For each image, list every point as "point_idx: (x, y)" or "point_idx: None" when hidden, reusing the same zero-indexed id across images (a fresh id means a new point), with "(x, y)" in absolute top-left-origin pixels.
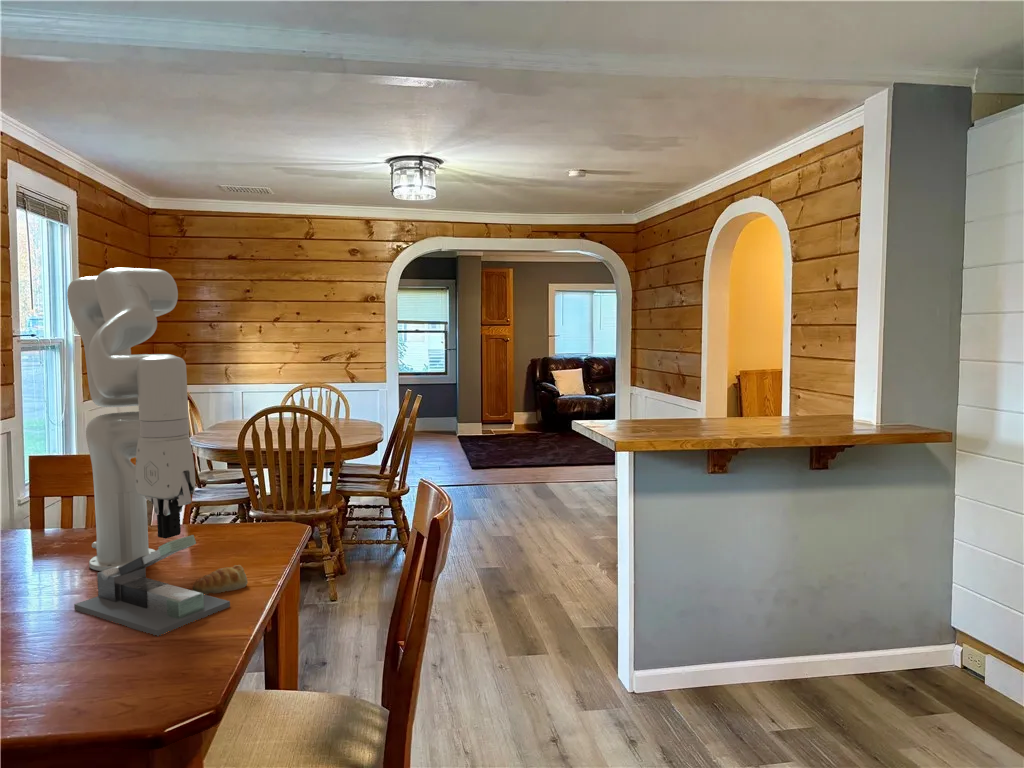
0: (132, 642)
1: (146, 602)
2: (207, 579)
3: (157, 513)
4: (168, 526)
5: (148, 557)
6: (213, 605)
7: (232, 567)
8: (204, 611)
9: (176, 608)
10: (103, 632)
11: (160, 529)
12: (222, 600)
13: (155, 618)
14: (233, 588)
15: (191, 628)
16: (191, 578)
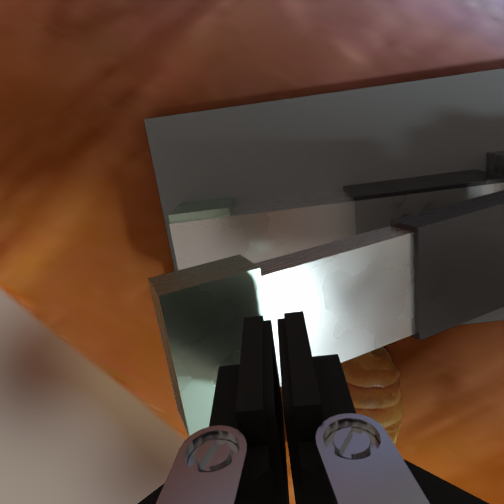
0: (166, 49)
1: (347, 192)
2: (353, 391)
3: (335, 419)
4: (237, 383)
5: (360, 242)
6: None
7: None
8: None
9: (182, 208)
10: (315, 28)
11: (283, 341)
12: None
13: (240, 163)
14: None
15: (133, 207)
16: (489, 398)
